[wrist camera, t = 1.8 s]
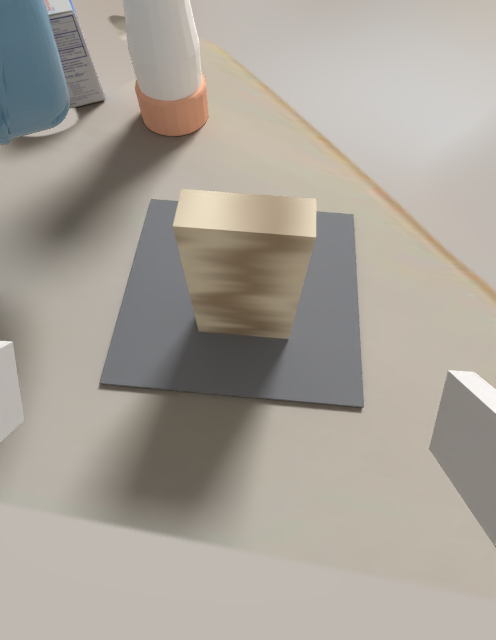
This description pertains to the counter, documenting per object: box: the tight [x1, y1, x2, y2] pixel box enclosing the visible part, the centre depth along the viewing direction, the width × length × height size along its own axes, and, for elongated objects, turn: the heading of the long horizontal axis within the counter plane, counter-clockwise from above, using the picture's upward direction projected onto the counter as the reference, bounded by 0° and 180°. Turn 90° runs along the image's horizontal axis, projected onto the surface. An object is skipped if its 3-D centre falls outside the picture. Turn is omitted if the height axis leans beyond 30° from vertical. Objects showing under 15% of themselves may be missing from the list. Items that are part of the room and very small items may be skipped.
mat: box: [100, 199, 364, 408], centre depth 31 cm, size 19×18×1 cm
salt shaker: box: [123, 0, 208, 136], centre depth 33 cm, size 7×7×19 cm
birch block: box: [173, 189, 316, 339], centre depth 24 cm, size 7×2×12 cm, turn 85°
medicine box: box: [44, 0, 105, 108], centre depth 40 cm, size 8×4×9 cm, turn 22°
